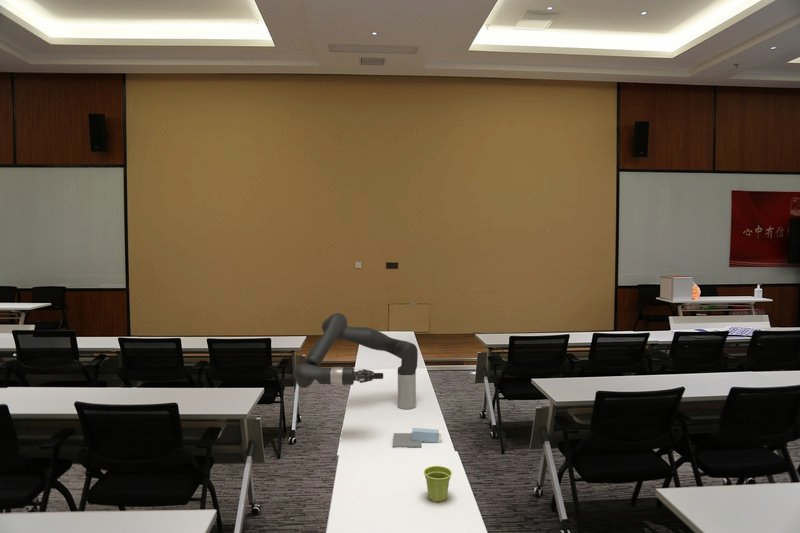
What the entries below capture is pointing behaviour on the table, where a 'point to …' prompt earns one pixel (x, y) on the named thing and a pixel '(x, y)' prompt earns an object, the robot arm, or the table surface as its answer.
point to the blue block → (426, 435)
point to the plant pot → (437, 482)
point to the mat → (405, 441)
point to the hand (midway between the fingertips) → (383, 375)
